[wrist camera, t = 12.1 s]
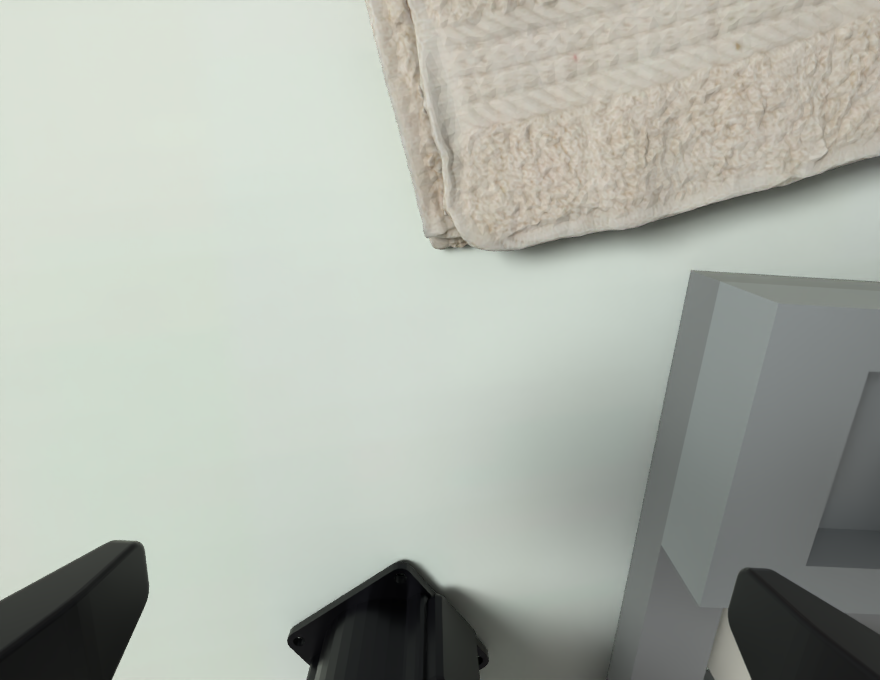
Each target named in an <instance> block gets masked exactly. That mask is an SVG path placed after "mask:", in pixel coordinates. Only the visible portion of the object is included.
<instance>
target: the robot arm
mask: <svg viewBox="0 0 880 680" xmlns="http://www.w3.org/2000/svg"><path fill="white" fill-rule="evenodd" d="M399 573H402V574H404V575H405V576H398V575H396V574H399ZM148 594H149V581H148V573H147V564H146V556H145V550H144V546H143V545H142V543H140V542H138V541H126V540H113V541H110V542H108V543H106V544H104V545H102V546H100V547H98V548H96V549H95V550H93V551H91V552H89V553H87V554H85V555H83V556H82V557H80V558H78V559H76V560H74V561H72V562H71V563H69V564H67V565H65V566H63V567H61V568H60V569H58V570H56V571H54V572H52V573H50V574H49V575H47V576H45V577H43V578H41V579H39V580H38V581H36V582H34V583H32V584H30V585H28V586H27V587H25V588H23V589H21V590H19V591H17V592H15V593H14V594H12V595H10V596H8V597H6V598H4V599H3V600H1V601H0V680H112V678H113V676H114V674H115V671H116V669H117V667H118V665H119V663H120V660H121V658H122V656H123V654H124V651H125V649H126V647H127V645H128V642H129V640H130V638H131V636H132V634H133V631H134V629H135V627H136V625H137V622H138V620H139V618H140V616H141V613H142V611H143V609H144V607H145V604H146V602H147V598H148ZM728 622H729V626H730V629H731V631H732V634H733V636H734V639H735V641H736V644H737V646H738V648H739V651H740V653H741V656H742V658H743V661H744V663H745V665H746V668H747V670H748V673H749V675H750V678H751V680H880V634H878V633H877V632H875V631H873V630H872V629H870V628H868V627H867V626H865V625H863V624H862V623H860V622H858V621H857V620H855V619H853V618H852V617H850V616H848V615H847V614H845V613H843V612H842V611H840V610H839V609H837V608H835V607H834V606H832V605H830V604H829V603H827V602H825V601H824V600H822V599H820V598H819V597H817V596H815V595H814V594H812V593H810V592H809V591H807V590H805V589H804V588H802V587H800V586H799V585H797V584H795V583H794V582H792V581H790V580H789V579H787V578H785V577H784V576H782V575H780V574H779V573H777V572H776V571H774V570H772V569H768V568H752V567H746V568H743V569H741V570H740V571H739V573H738V575H737V578H736V582H735V586H734V589H733V593H732V596H731V600H730V604H729V607H728ZM298 637H301V638H303V639H301V638H298ZM287 642H288V645H289V646H290V648H292V649H293V650H294V651H295V652H296V653H297V654H298V655H299V656H300V657H301V658H302V659H303V660H304V661H305V662H306V663H308V664H309V665H310V668H309V672H308V676H307V680H480V675H479V670H480V669H482V668H484V667H485V666H486V665H487V664H488V662H489V658H488V650H487V649H486V647H485V646H484V645H483V644H482V643H481V642H480V640H479V639H478V638H477V637H476V633H475V631H474V629H473V628H472V627H471V626H470V625H469V624H468V623H467V622H466V621H465V620H464V618H463V617H462V616H461V615H460V614H459V613H458V612H457V611H456V610H455V609H454V607H453V606H452V605H451V604H450V603H449V602H448V601H447V600H446V599H445V598H444V597H443V596H442V595H440V594H436V593H435V592H434V590H433V589H432V588H431V587H430V586H429V585H428V584H427V583H426V582H425V581H424V580H423V578H422V577H421V576H420V575H419V574H418V573H417V572H416V571H415V570H414V569H413V568H412V566H411V565H409V564H408V563H406V562H396V563H394V564H392V565H391V566H389V567H387V568H386V569H384V570H383V571H381V572H380V573H378V574H376V575H375V576H373V577H372V578H370V579H368V580H367V581H365V582H364V583H362V584H360V585H359V586H357V587H356V588H354V589H353V590H351V591H349V592H348V593H346V594H345V595H343V596H341V597H340V598H338V599H337V600H335V601H334V602H332V603H330V604H329V605H327V606H326V607H324V608H322V609H321V610H319V611H318V612H316V613H314V614H313V615H311V616H310V617H308V618H307V619H305V620H303V621H302V622H300V623H299V624H297V625H295V626H294V627H293V628H292V629H291V630H290V633H289V636H288V639H287ZM478 656H479V657H478Z"/></svg>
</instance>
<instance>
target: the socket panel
mask: <svg viewBox="0 0 880 680" xmlns="http://www.w3.org/2000/svg"><path fill="white" fill-rule="evenodd" d="M746 567H752V568H768V569H772V570H774V571H776V572H777V573H779V574H780V575H782V576H784V577H785V578H787V579H789V580H790V581H792V582H794V583H795V584H797V585H799V586H800V587H802V588H804V589H805V590H807V591H809V592H810V593H812V594H814V595H815V596H817V597H819V598H820V599H822V600H824V601H825V602H827V603H829V604H830V605H832V606H834V607H835V608H837V609H839V610H840V611H842V612H843V613H845V614H847V615H848V616H850V617H852V618H853V619H855V620H857V621H858V622H860V623H862V624H863V625H865V626H867V627H868V628H870V629H872V630H873V631H875V632H877V633H878V634H880V282H872V281H855V280H839V279H823V278H807V277H791V276H775V275H758V274H742V273H726V272H710V271H694V270H691V273H690V278H689V282H688V287H687V292H686V297H685V302H684V307H683V312H682V316H681V321H680V326H679V331H678V336H677V341H676V345H675V350H674V355H673V360H672V365H671V370H670V375H669V379H668V384H667V389H666V394H665V399H664V404H663V409H662V413H661V418H660V423H659V428H658V433H657V438H656V442H655V447H654V452H653V457H652V462H651V467H650V472H649V476H648V481H647V486H646V491H645V496H644V501H643V506H642V510H641V515H640V520H639V525H638V530H637V535H636V540H635V544H634V549H633V554H632V559H631V564H630V569H629V573H628V578H627V583H626V588H625V593H624V598H623V603H622V607H621V612H620V617H619V622H618V627H617V632H616V637H615V641H614V646H613V651H612V656H611V661H610V666H609V670H608V675H607V680H715V679H714V678H713V676H712V674H711V672H710V671H708V670H706V668H707V664H708V661H709V657H710V654H711V650H712V646H713V643H714V639H715V636H716V632H717V628H718V625H719V621H720V617H721V614H722V610H723V608H728V607H729V604H730V600H731V596H732V593H733V589H734V586H735V582H736V578H737V575H738V573H739V571H740V570H741V569H743V568H746Z"/></svg>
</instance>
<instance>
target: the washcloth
mask: <svg viewBox="0 0 880 680" xmlns="http://www.w3.org/2000/svg"><path fill="white" fill-rule="evenodd" d="M365 2H366V6H367V9H368V13H369V17H370V24H371V26H372V29H373V36H374V39H375V42H376V46H377V50H378V54H379V58H380V63H381V65H382V69H383V73H384V77H385V83H386V86H387V89H388V93H389V97H390V100H391V104H392V107H393V110H394V113H395V118H396V122H397V124H398V129H399V133H400V136H401V140H402V145H403V148H404V152H405V155H406V158H407V164H408V168H409V171H410V174H411V179H412V183H413V186H414V190H415V195H416V199H417V205H418V208H419V212H420V215H421V218H422V222H423V231H424V234H425V237H426V238H429V239H430V242H431V244H432V246H433V247H434V248H435V249H445V248H447V247H449V246H452V247H454V248H455V247H459V248H460V247H464V246H465V245H468V244H469V245H470V246H472V247H475V248H479V249H483V250H488V251H511V250H520V249H524V248H527V247H531V246H535V245H539V244H543V243H546V242H549V241H555V240H558V239H561V238H570V237H576V236H583V235H586V234H590V233H596V232H600V231H607V230H626V229H629V228H635V227H639V226H642V225H645V224H647V223H650V222H655V221H657V220H660V219H664V218H666V217H670V216H674V215H677V214H680V213H683V212H686V211H691V210H694V209H696V208H699V207H703V206H706V205H710V204H713V203H717V202H719V201H723V200H728V199H731V198H734V197H738V196H741V195H746V194H749V193H753V192H758V191H762V190H767V189H770V188H773V187H779V186H786V185H789V184H791V183H793V182H796V181H799V180H802V179H804V178H807V177H811V176H814V175H818V174H822V173H823V172H825V171H828V170H831V169H834V168H837V167H841V166H844V165H848V164H851V163H855V162H857V161H860V160H864V159H868V158H872V157H876V156H880V0H365Z"/></svg>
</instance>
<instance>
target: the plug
mask: <svg viewBox="0 0 880 680" xmlns="http://www.w3.org/2000/svg"><path fill="white" fill-rule="evenodd" d="M707 667H708V669H709V670H710V672H711V674H712V676H713V678H714V679H715V680H751V678H750V675H749V673H748V670H747V668H746V665H745V663H744V661H743V658H742V656H741V653H740V651H739V648H738V646H737V644H736V641H735V639H734V636H733V634H732V631H731V629H730V626H729V622H728V608H723V610H722V614H721V617H720V621H719V625H718V628H717V632H716V636H715V639H714V643H713V646H712V650H711V654H710V657H709V661H708V664H707Z"/></svg>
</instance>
